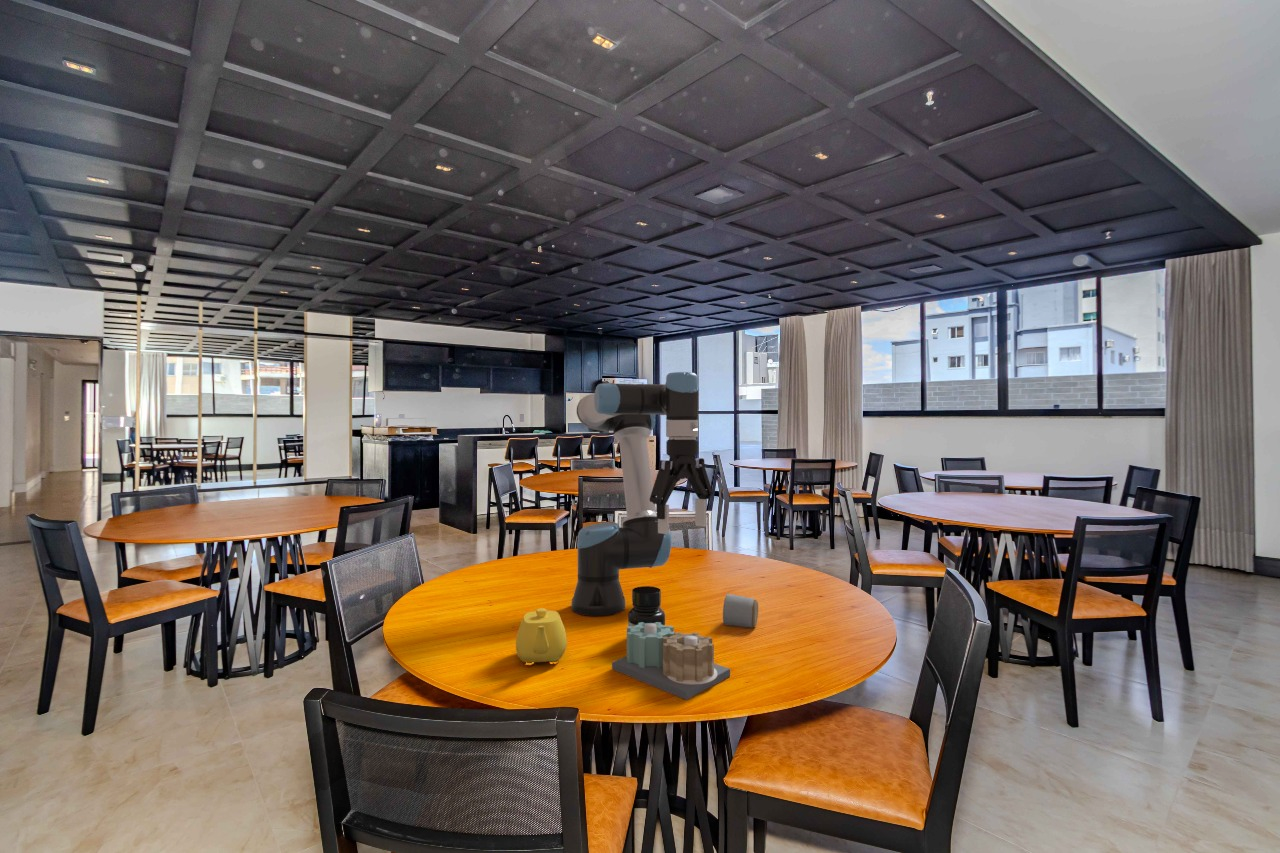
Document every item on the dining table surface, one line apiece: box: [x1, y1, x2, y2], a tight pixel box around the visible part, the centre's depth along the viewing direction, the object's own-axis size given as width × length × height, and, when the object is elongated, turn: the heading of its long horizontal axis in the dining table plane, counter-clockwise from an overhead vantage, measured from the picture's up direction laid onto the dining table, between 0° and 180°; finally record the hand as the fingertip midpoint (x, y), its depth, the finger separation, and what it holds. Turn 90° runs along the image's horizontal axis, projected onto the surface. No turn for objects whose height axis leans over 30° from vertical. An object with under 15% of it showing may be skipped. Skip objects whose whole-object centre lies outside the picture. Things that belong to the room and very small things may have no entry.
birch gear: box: [663, 631, 715, 682], centre depth 115 cm, size 10×10×6 cm
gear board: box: [611, 622, 731, 701], centre depth 118 cm, size 21×14×8 cm, turn 46°
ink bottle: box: [627, 585, 666, 627], centre depth 137 cm, size 10×9×12 cm
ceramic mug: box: [722, 593, 759, 628], centre depth 148 cm, size 11×8×8 cm
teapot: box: [515, 607, 568, 663], centre depth 126 cm, size 18×11×11 cm, turn 9°
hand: (682, 529), depth 134 cm, fingers open, 13 cm apart
